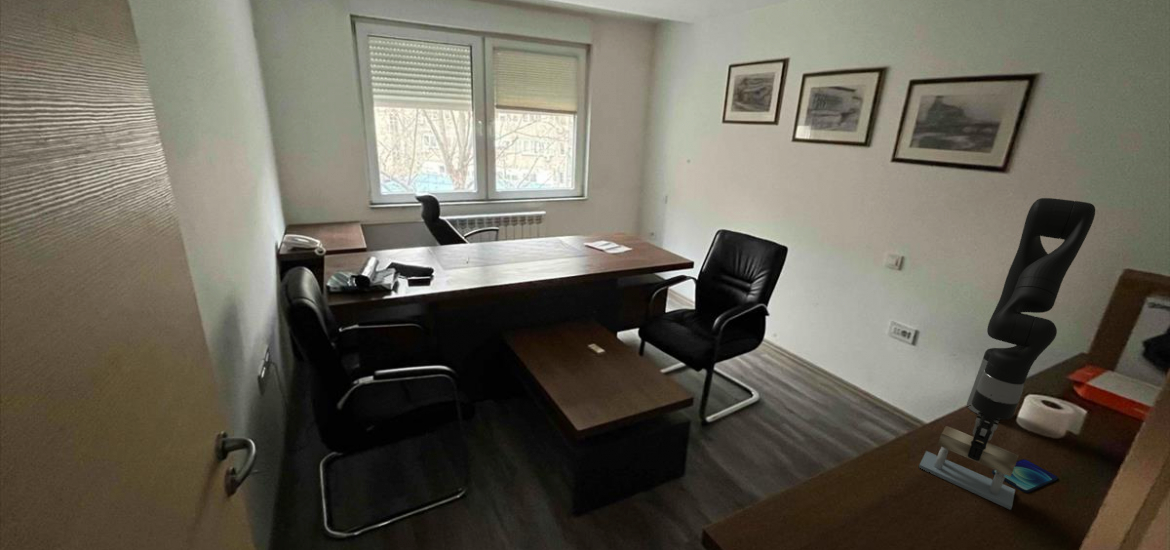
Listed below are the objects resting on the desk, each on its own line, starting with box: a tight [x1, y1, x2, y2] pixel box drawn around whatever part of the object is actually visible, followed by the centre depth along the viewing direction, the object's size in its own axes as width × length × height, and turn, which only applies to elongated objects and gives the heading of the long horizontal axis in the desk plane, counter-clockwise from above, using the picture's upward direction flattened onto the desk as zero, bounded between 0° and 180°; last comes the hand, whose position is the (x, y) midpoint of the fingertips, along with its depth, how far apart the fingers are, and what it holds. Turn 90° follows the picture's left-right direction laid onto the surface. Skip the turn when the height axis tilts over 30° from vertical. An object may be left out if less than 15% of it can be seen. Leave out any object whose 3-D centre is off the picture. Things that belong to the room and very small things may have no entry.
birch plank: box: [937, 425, 1019, 477], centre depth 111 cm, size 14×5×4 cm, turn 41°
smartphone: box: [991, 458, 1059, 494], centre depth 116 cm, size 8×1×15 cm
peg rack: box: [918, 446, 1016, 511], centre depth 113 cm, size 18×8×6 cm, turn 44°
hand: (974, 453), depth 111 cm, fingers closed on birch plank, 5 cm apart
